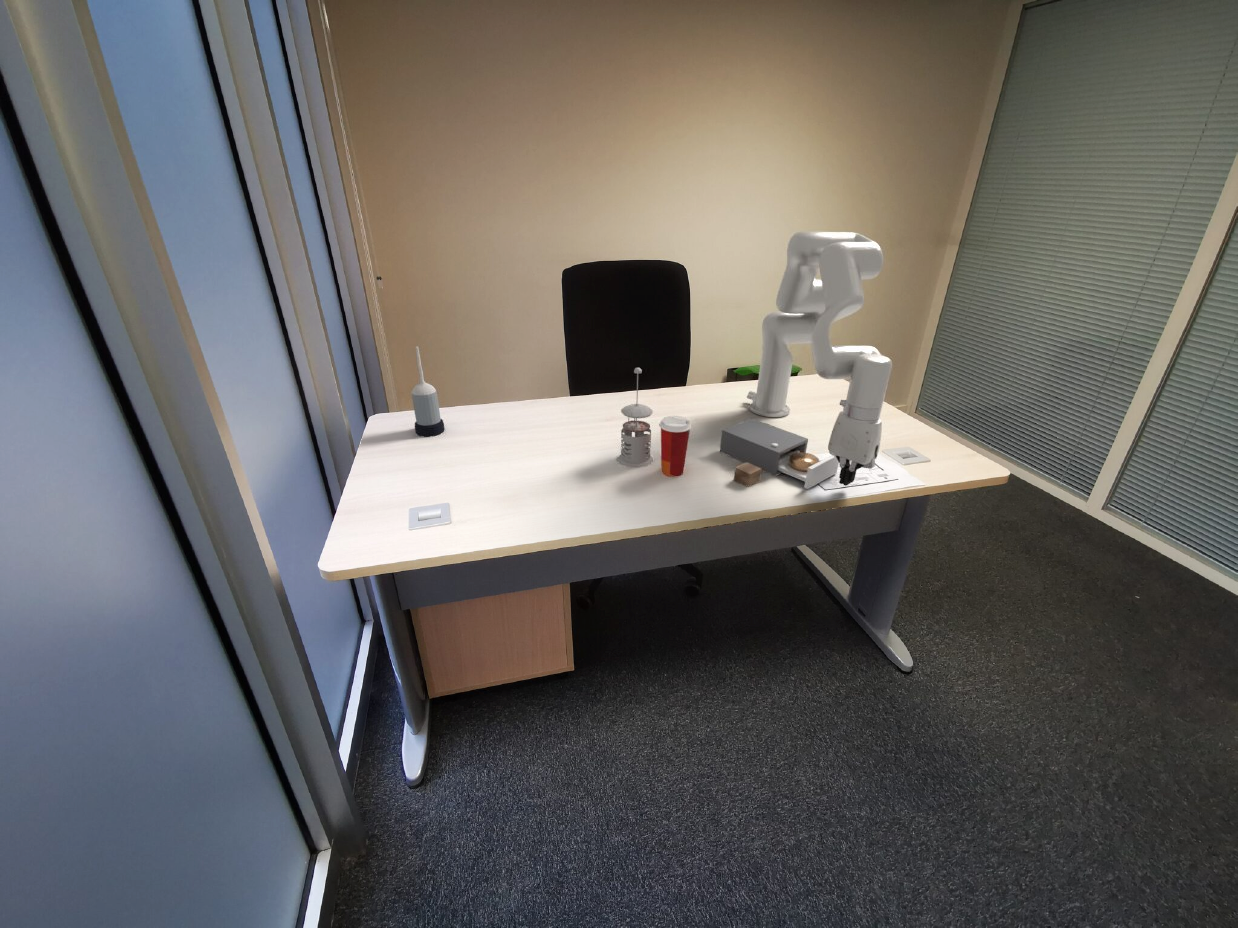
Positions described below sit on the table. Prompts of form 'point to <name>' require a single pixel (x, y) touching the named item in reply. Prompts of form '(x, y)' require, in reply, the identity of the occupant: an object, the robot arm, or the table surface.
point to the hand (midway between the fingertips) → (845, 482)
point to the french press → (636, 435)
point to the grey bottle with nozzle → (426, 407)
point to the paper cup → (674, 444)
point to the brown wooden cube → (747, 474)
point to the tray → (809, 469)
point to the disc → (802, 461)
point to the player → (760, 444)
